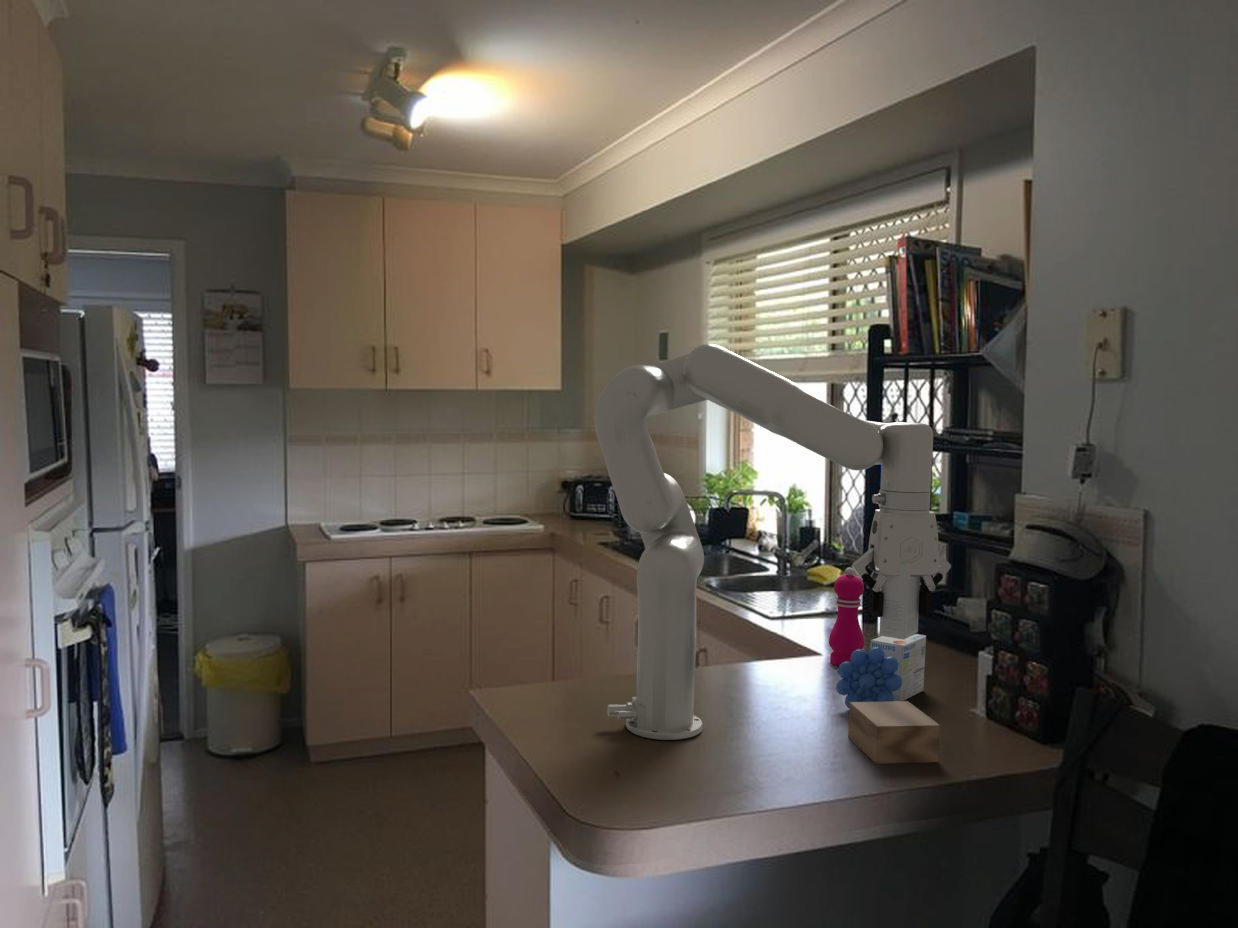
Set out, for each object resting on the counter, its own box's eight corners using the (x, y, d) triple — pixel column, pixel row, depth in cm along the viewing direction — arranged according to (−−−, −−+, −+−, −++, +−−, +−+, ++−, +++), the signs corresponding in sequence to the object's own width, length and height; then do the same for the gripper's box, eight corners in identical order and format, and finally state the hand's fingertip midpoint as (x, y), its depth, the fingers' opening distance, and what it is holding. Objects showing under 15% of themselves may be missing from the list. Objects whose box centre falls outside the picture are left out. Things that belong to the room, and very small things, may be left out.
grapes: (907, 713, 182) (910, 646, 182) (896, 723, 177) (899, 654, 176) (843, 701, 188) (846, 636, 188) (830, 710, 183) (833, 643, 182)
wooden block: (875, 764, 158) (877, 726, 157) (847, 737, 170) (849, 701, 169) (938, 763, 159) (940, 725, 159) (906, 736, 171) (907, 701, 171)
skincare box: (892, 628, 166) (895, 554, 165) (918, 633, 164) (922, 558, 163) (877, 635, 161) (881, 559, 160) (904, 640, 159) (908, 562, 158)
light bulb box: (891, 683, 201) (894, 628, 200) (924, 691, 196) (927, 635, 195) (866, 695, 192) (869, 638, 191) (900, 703, 188) (903, 645, 187)
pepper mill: (851, 657, 219) (855, 563, 218) (870, 666, 212) (874, 569, 211) (821, 659, 217) (825, 564, 215) (839, 668, 210) (843, 571, 208)
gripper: (862, 504, 156) (857, 621, 157) (968, 505, 159) (962, 619, 160) (842, 499, 163) (837, 610, 164) (944, 499, 166) (938, 608, 168)
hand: (899, 614), depth 162 cm, fingers closed on skincare box, 7 cm apart
